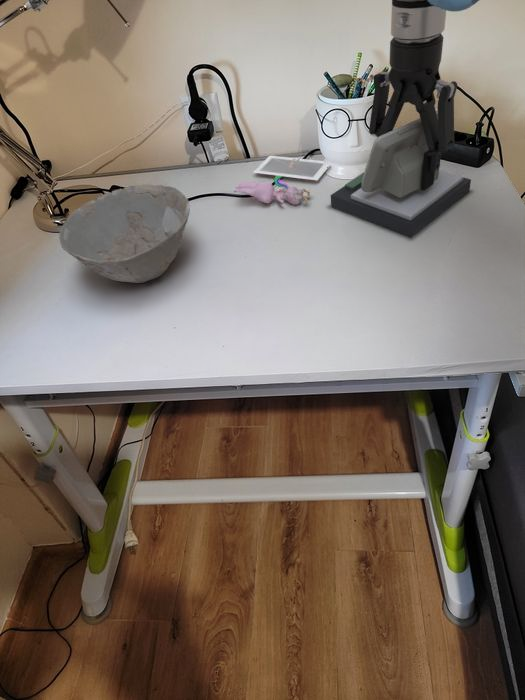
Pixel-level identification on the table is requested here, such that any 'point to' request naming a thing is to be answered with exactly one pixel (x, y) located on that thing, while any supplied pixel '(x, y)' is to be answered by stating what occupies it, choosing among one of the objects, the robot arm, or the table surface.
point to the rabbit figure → (272, 191)
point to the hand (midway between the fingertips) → (406, 180)
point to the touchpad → (292, 167)
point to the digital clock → (397, 161)
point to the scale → (401, 203)
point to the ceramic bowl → (128, 232)
